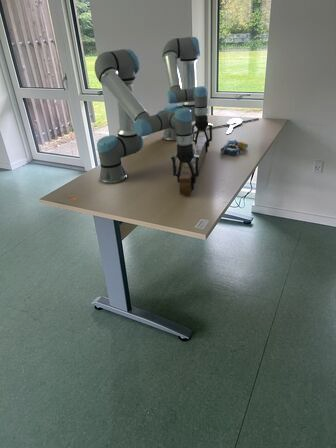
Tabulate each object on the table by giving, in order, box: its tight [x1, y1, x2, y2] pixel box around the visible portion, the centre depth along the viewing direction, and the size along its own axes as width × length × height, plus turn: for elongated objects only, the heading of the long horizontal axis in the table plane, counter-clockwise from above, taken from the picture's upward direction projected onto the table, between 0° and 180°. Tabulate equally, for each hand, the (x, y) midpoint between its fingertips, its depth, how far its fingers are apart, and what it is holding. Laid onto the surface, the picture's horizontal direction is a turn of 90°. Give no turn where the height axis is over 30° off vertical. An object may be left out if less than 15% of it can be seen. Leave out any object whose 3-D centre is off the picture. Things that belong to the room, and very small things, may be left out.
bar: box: [178, 136, 207, 196], centre depth 188 cm, size 64×5×9 cm, turn 167°
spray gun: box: [220, 139, 249, 156], centre depth 214 cm, size 21×4×15 cm
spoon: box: [226, 117, 243, 135], centre depth 260 cm, size 35×11×2 cm, turn 159°
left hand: (186, 188), depth 168 cm, fingers closed on bar, 5 cm apart
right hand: (202, 151), depth 212 cm, fingers closed on bar, 5 cm apart
